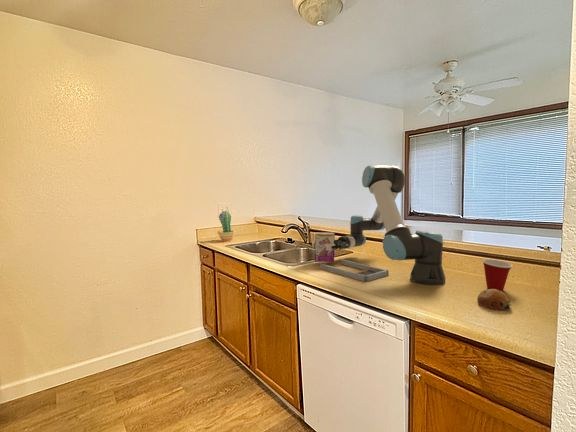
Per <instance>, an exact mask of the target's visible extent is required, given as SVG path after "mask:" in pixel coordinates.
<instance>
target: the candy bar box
mask: <svg viewBox="0 0 576 432" xmlns="http://www.w3.org/2000/svg"><path fill="white" fill-rule="evenodd" d="M314 235H315V236H314V242H315V247H314V262H315V263H316V262H319V263H321V262H322V263H334V262H335V249H333V250H326V245H332V244H334V241H335V240H336V239H335V236H336V235H335V232H320V231H319V232H315V233H314Z"/></svg>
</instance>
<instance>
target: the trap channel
mask: <svg viewBox="0 0 576 432" xmlns="http://www.w3.org/2000/svg"><path fill="white" fill-rule="evenodd" d="M340 263H341V264H340V265H344V266H348V267H352V268H355V269H360V271H358V272H357V271H356V272H353V271H351V270H347V269H343V268H339V267H335V266H331V265H327V264H325V263H320V270H323V271H328V272H331V273H334V274H338V275H342V276H345V277H348V278H351V279H355V280H358V281H362V282H365V283H367V282H370V281H374V280H378V279H380V278H384V277H387V276H389V275H390V274H389V270H388V269H384V268H379V267H376V266H371V265H369V264H368V265H367V264H363V263H359V262H356V261H351V260H346V259H343V258H342V259H341V262H340Z"/></svg>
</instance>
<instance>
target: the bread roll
mask: <svg viewBox="0 0 576 432" xmlns="http://www.w3.org/2000/svg"><path fill="white" fill-rule="evenodd" d="M477 303H478V305H480V306H481V307H483V308H486V309H489V310H492V311H500V312H501V311H508V310H509V309H510V308H511V307H510V306H512V305H511V300H510V298H509V297H508V295H506V293H504V291H499V290H497V289H488V288H487V289H484V290H482V291H480V293H479V294H478V296H477Z"/></svg>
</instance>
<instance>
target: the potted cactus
mask: <svg viewBox="0 0 576 432" xmlns="http://www.w3.org/2000/svg"><path fill="white" fill-rule="evenodd" d="M218 219H219V221H220V224H221V227H222V230H219V231H217V235H218V236H219V238H220V240H221V242H222V243H228V242H233V239H234V237H235V234H236V232H237V231H236V230H231V229H232V227H231V224H232V223H231V222H232V215H231V213H230V212H229V211H227V210H224V211H222V212H220V214H219V216H218Z"/></svg>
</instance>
